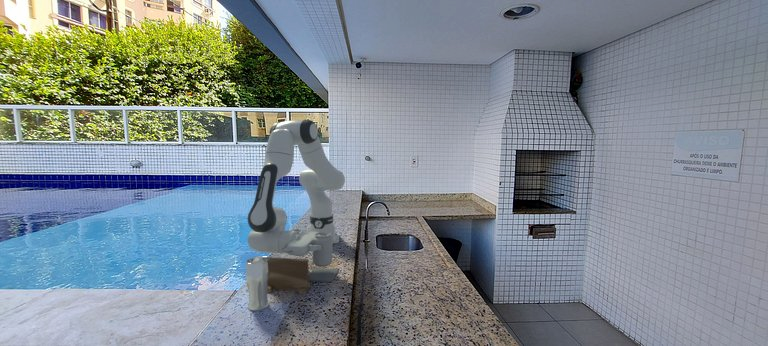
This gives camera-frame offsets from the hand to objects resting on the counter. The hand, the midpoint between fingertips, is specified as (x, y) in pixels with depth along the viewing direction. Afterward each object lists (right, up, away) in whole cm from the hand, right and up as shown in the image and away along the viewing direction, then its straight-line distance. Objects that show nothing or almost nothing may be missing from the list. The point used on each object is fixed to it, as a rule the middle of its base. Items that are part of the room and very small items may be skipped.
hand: (324, 243), depth 120 cm
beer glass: (-17, -15, -23) cm, 32 cm away
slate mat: (-1, -13, +1) cm, 13 cm away
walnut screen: (-11, -14, -11) cm, 21 cm away
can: (-1, -8, +1) cm, 8 cm away
